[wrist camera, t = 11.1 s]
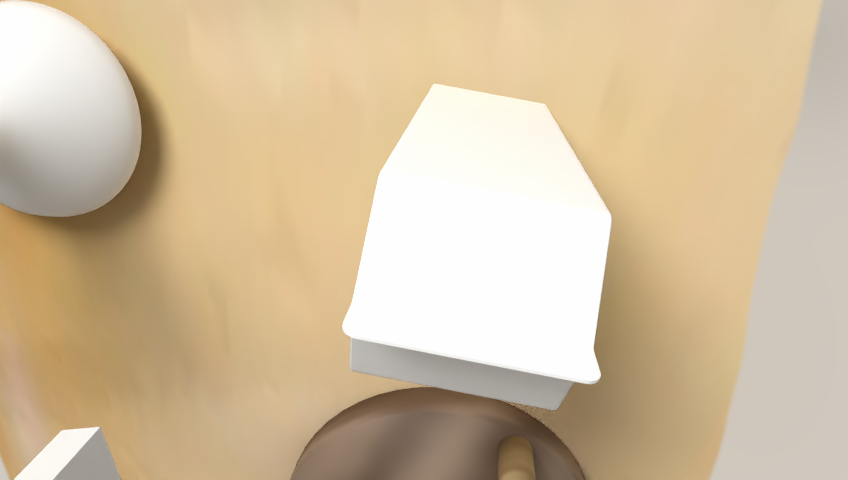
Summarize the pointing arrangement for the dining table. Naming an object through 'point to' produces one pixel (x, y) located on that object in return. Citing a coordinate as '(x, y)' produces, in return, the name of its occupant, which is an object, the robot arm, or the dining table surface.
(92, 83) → the flower in vase
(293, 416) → the dining table surface
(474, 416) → the turntable
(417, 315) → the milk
